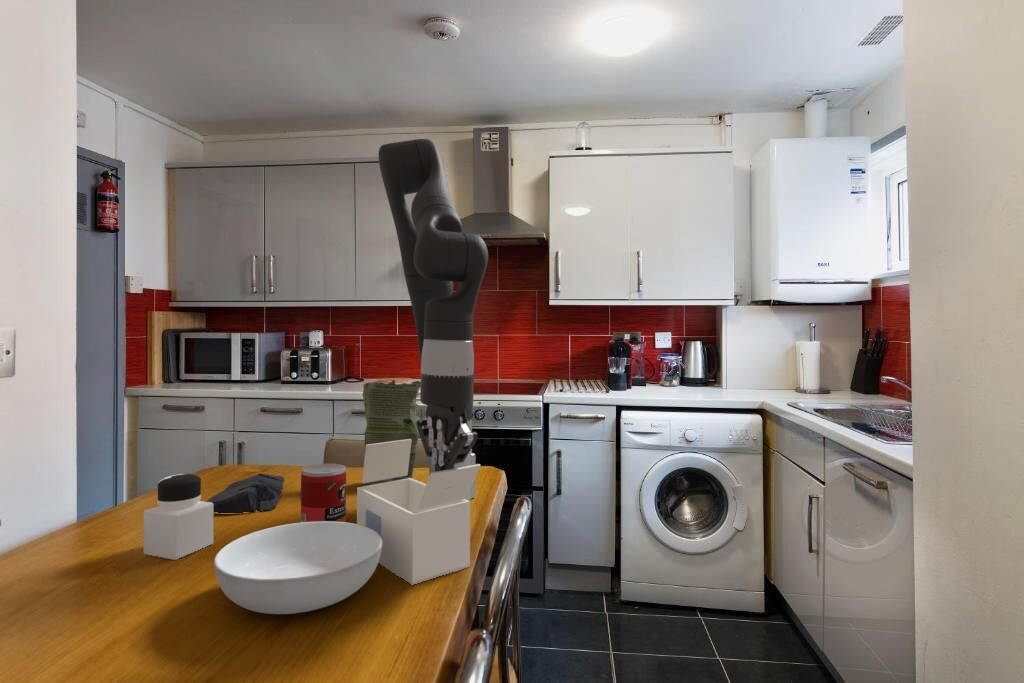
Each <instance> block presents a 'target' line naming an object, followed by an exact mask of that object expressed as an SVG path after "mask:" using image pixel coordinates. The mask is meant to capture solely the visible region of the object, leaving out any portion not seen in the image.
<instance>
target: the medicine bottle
mask: <svg viewBox="0 0 1024 683" xmlns="http://www.w3.org/2000/svg"><path fill="white" fill-rule="evenodd" d="M201 499H202V477H200V476H199V475H196V474H193V473H181V474H180V473H179V474H173V475H169V476H165V477H164V478H162V479H160V480H159V481H158V482H157V506H154V507H152V508H148V509H145V510H144V511H143V554H144V555H146V556H151V555H152V557H156V556H157V557H156V558H161V557H162V559H168V560H172V561H173V560H174V561H176V560H179V558H180V559H181V557H182V558H184V557H186V555H187V556H188V554H189V555H191V553H192V554H194V553H196V552H198V550H199V551H200V549H201V550H203V549H206V548H208V547H210V546H209V545H211V544H212V545H214V519H215V518H214V516H215V515H214V504H213V503H211V502H205V500H203V501H202V500H201ZM212 545H211V546H212ZM207 546H208V547H207ZM205 547H206V548H205ZM202 548H203V549H202ZM195 551H196V552H195ZM193 552H194V553H193Z"/></svg>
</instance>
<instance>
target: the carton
mask: <svg viewBox="0 0 1024 683" xmlns="http://www.w3.org/2000/svg"><path fill="white" fill-rule="evenodd" d="M426 484H427V483H424V482H421V481H420V480H416V479H415V478H413V477H412V478H407V479H402V480H396V481H391V482H386V483H380V484H375V485H369V486H368V485H364V486H360V487H356V524H358V525H362V526H365V527H368V528H370V529H372V530H374V531H376V532H377V533H378V534H379V535H380V536H381V538H382V550H381V555H380V559H379V562H378V564H379V563H380V565H381V566H382V567H384V568H385V569H386V570H388V571H390V572H391V573H393V574H394V573H395V574H394V575H396V576H397V577H398V576H399V577H398V578H400V577H401V578H403V579H404V580H406V581H408V582H409V583H411V584H412V585H413V584H416V583H420V582H422V581H426V580H429V579H432V578H435V579H437V578H436V577H438V576H441V577H443V576H442V575H444V576H447V575H449V573H450V574H452V572H453V573H456V572H459V571H461V570H464V569H468V568H470V567H471V501H470V500H469V501H468V500H466V499H463V500H459V501H454V502H450V503H446V504H441V505H437V506H433V507H428V508H424V509H420V510H418V509H417V508H418V505H419V502H420V500H421V497H422V494H423V492H424V489H425V487H426ZM446 574H447V575H446ZM401 578H400V579H401ZM438 578H439V577H438ZM403 579H402V580H403ZM404 580H403V581H404ZM432 580H433V579H432ZM406 581H405V582H406ZM429 581H430V580H429ZM426 582H427V581H426ZM409 583H408V584H409ZM420 584H421V583H420ZM412 585H411V586H412Z"/></svg>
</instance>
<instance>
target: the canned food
mask: <svg viewBox="0 0 1024 683" xmlns="http://www.w3.org/2000/svg"><path fill="white" fill-rule="evenodd" d="M346 468H347V466H346V465H343V464H339V463H317V464H315V463H314V464H311V465H307V466H305V467H302V468H301V472H300V523H301V522H315V521H334V522H346V521H347V520H346V518H347V516H346V515H347V513H346V512H347V469H346Z"/></svg>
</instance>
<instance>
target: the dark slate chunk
mask: <svg viewBox="0 0 1024 683" xmlns="http://www.w3.org/2000/svg"><path fill="white" fill-rule="evenodd" d="M285 481H286V480H285V477H283V476H282V475H275V474H274V475H273V474H268V473H262V472H260V473H257V474H255V475H251V476H249V477H247V478H244V479H241V480H237V481H235V482H232V483H230V484H229V485H228V486H227V487H226V488H224V489H225V490H224V489H223V490H224V491H223V490H222V491H220V492H218V493H217V494H215V495H212V496H211V497H210V498H208V499H207V500H204V502H211V503H213V504H214V512H218V513H243V512H254V513H256V512H255V511H256V510H257V511H262V510H269V511H273V510H275V509H276V508H277V505H278V503H279V501H280V498H281V495H282V491H283V485H284V483H285ZM272 509H273V510H272ZM262 512H263V511H262Z"/></svg>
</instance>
